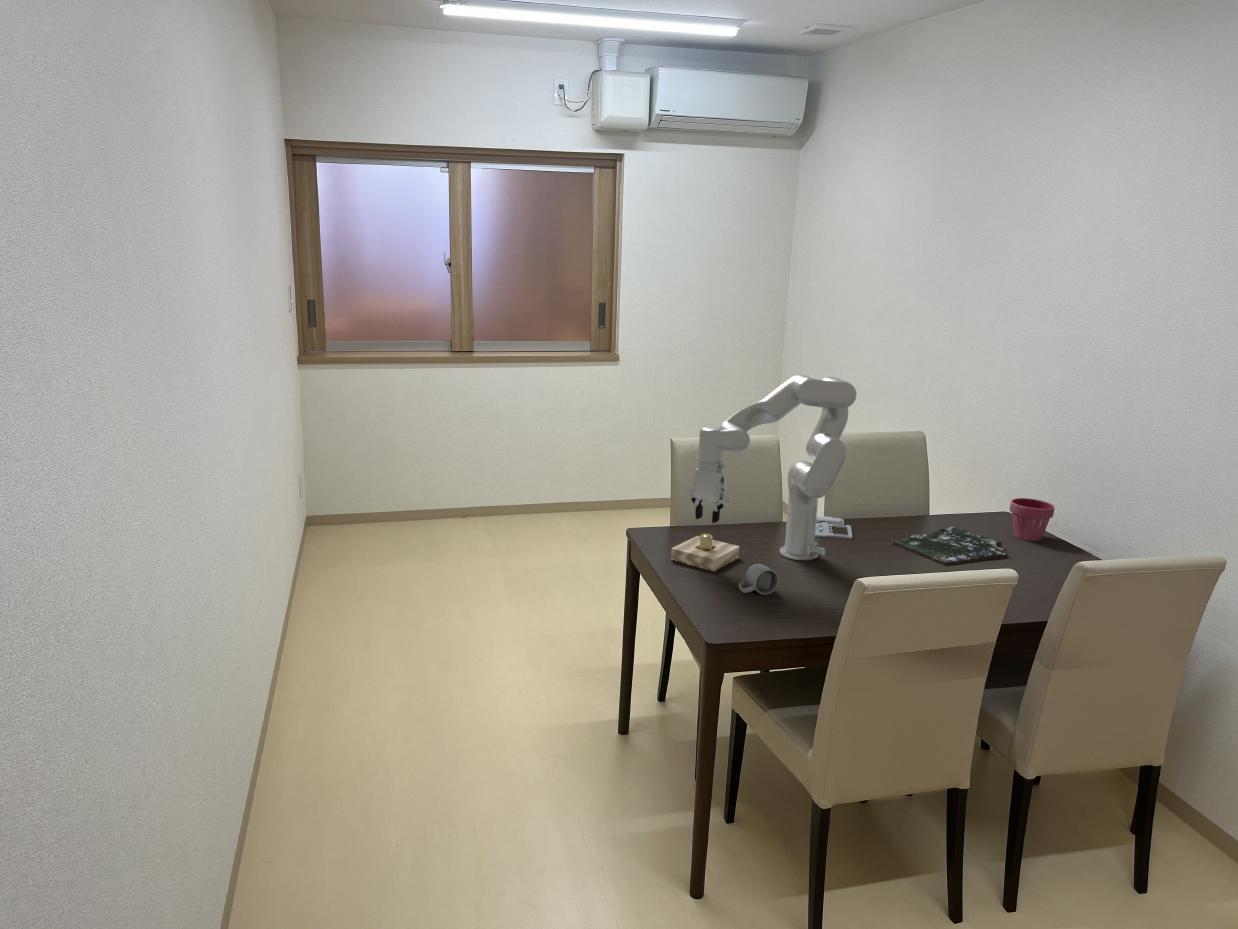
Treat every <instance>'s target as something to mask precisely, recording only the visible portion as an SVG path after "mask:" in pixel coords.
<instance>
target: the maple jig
mask: <svg viewBox="0 0 1238 929" xmlns="http://www.w3.org/2000/svg"><path fill="white" fill-rule="evenodd" d="M670 553H671V554H670V555H671V557H670V560H671V561H673V560H675V561H674V562H677V561H679V562H678V563H680V562H682V563H681V564H684V563H686V564H685V565H689V566H691V565H692V567H695V566H696V568H699V569H702V568H703V569H702V570H707V571H710V572H717V571H718V570H719V569H722V568H723V567H725V566H727V565H729V564H730V563H732V562H734V561H736V560H738V559H740V558H739V555H740V546H739V545H736V544H732V543H728V542H723V541H719V540H715V539H712V550H711V551H705V550H701V549H700V535H696V536H694V537H692V538H690V539H688V540H685V541H684V542H681V543H679V544H678V545H676V546H674V547H671V552H670ZM735 559H736V560H735ZM728 563H729V564H728Z"/></svg>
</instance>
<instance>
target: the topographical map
mask: <svg viewBox="0 0 1238 929" xmlns="http://www.w3.org/2000/svg"><path fill="white" fill-rule="evenodd" d="M892 545H894V546H895V547H899V548H901V549H903V550H905V551H908V552H911V553H913V554H916V555H918V556H920V557H922V558H925V559H928V560H931V561H932V562H935V563H938V564H939V563H940V565H943V566H950V565H951V566H952V565H957V564H964V563H966V564H967V563H973V562H979V561H980V562H981V561H986V560H996V559H1004V558H1008V556H1009V552H1006V551H1004V548H1002V546H1003V542H1002V541H996V540H995V539H993V538H990V537H989V538H988V537H985V536H984V535H979V534H976V533H972V532H971V533H970V532H968V530H965V529H964V530H963V529H959V528H957V527H955V526H950V527H945V528H942V529H941V528H940V529H939V530H937V531H935V532H933V533H924V534H912V535H910V536H907V537H905V538H903V539H899V540H894V541H892Z"/></svg>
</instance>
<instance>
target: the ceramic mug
mask: <svg viewBox="0 0 1238 929" xmlns="http://www.w3.org/2000/svg"><path fill="white" fill-rule="evenodd" d="M779 580H780V579H779V576H778V574H777V572H776V571H775V570H773V569H771V568H770V567H768V566H766V565H764V564H762V563H754V564H752V565H751V566H749V567H748V568H747V571H746V573H745V578H744V579H743V580H742V581H740V582H739V583H738V589H739V591H740V592H741V593H745V594H747V593H751V592H753V591H756V592H757V593H758V594H760V595H770V594H773V592H775V590H777V587H778V586H779V582H780V581H779ZM747 584H749V585H750V586H748V587H744V586H746V585H747Z"/></svg>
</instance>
